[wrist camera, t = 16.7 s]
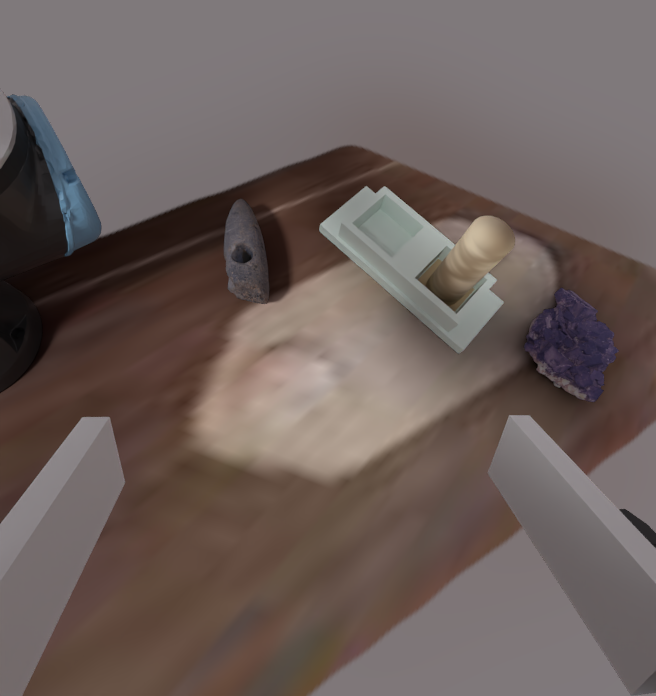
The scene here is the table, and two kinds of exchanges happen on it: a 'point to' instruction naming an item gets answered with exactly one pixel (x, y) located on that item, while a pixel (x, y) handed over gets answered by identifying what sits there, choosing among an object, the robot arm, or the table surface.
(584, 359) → the mineral specimen
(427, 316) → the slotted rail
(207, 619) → the table surface
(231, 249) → the perforated stone tool
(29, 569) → the robot arm
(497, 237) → the birch peg
